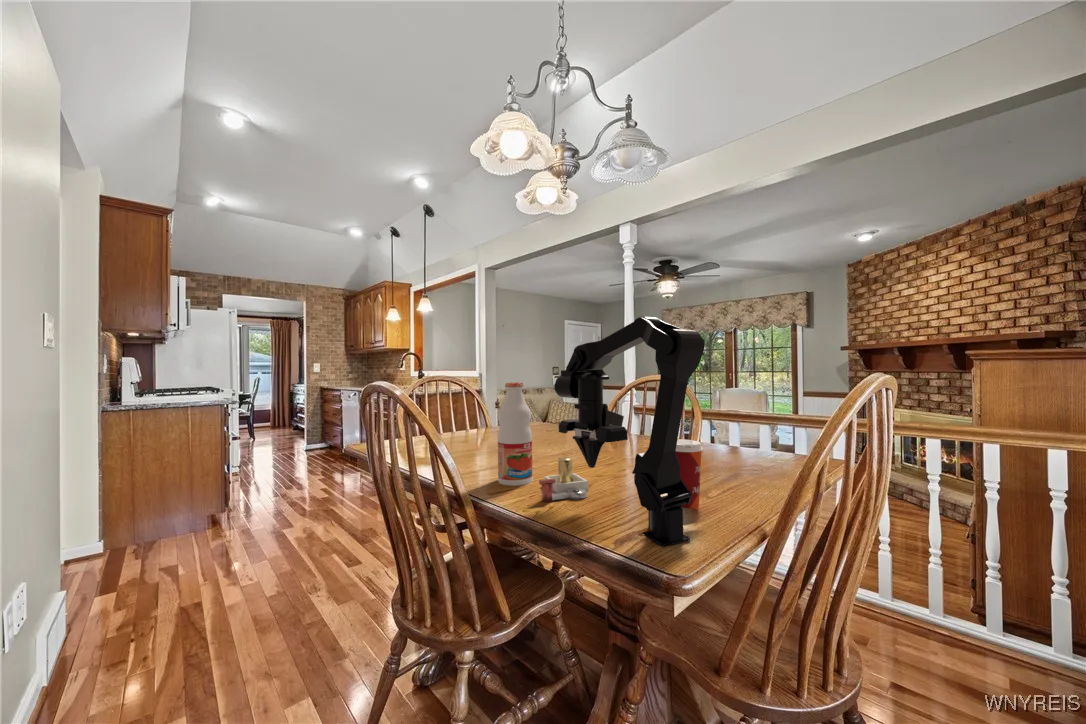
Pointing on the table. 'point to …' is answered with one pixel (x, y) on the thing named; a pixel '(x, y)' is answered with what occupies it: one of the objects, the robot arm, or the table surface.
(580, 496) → the crank
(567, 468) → the pin
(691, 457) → the coffee cup
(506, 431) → the fruit juice
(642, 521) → the table surface
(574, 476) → the tray
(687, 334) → the robot arm
